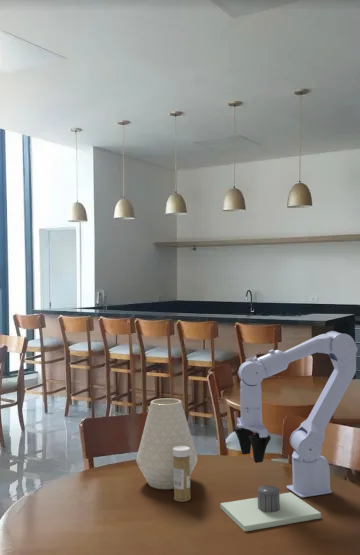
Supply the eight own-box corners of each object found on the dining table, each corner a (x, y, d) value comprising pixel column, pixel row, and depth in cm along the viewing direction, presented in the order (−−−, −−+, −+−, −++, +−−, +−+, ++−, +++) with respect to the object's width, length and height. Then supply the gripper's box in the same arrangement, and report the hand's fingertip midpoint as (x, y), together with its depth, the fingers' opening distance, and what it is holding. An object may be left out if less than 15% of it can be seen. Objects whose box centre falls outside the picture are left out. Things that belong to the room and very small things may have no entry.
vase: (209, 478, 156) (207, 398, 157) (176, 498, 142) (174, 410, 142) (159, 468, 166) (158, 393, 166) (124, 486, 151) (122, 404, 152)
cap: (273, 502, 135) (272, 484, 135) (283, 510, 130) (283, 491, 130) (254, 505, 133) (254, 487, 133) (264, 513, 128) (264, 494, 129)
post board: (290, 496, 142) (290, 478, 142) (321, 518, 128) (320, 498, 128) (220, 508, 135) (220, 489, 135) (244, 531, 122) (244, 510, 122)
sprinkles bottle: (194, 499, 141) (193, 448, 141) (179, 504, 138) (178, 451, 139) (184, 494, 145) (183, 443, 145) (170, 498, 142) (169, 447, 142)
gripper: (226, 402, 151) (227, 451, 150) (249, 414, 137) (250, 467, 137) (249, 400, 153) (250, 449, 153) (274, 411, 139) (275, 464, 139)
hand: (252, 457), depth 145 cm, fingers open, 7 cm apart
